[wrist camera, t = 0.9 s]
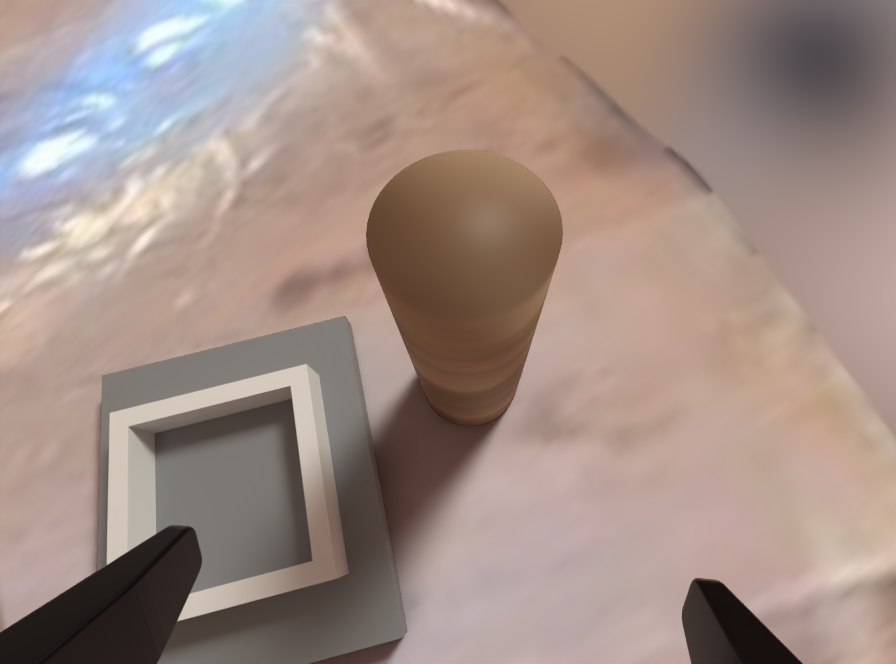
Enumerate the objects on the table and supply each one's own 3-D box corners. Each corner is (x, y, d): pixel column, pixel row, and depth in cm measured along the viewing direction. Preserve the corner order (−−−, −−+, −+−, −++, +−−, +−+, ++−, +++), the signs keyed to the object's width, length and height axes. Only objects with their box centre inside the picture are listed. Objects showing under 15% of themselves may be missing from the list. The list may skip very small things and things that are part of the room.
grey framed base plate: (407, 630, 20) (396, 649, 17) (115, 711, 19) (53, 743, 16) (351, 325, 25) (335, 300, 22) (119, 382, 24) (73, 364, 21)
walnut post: (515, 429, 22) (562, 324, 10) (417, 421, 23) (351, 310, 11) (519, 337, 24) (563, 153, 12) (427, 331, 24) (380, 146, 12)
